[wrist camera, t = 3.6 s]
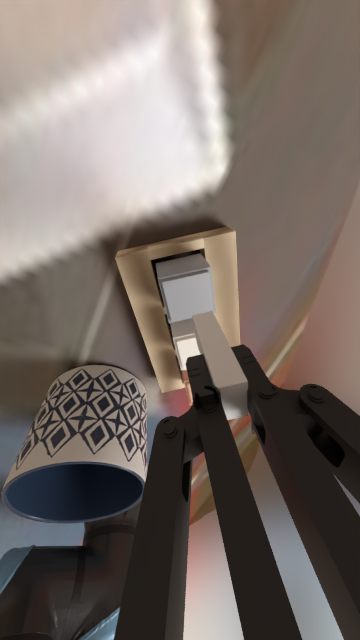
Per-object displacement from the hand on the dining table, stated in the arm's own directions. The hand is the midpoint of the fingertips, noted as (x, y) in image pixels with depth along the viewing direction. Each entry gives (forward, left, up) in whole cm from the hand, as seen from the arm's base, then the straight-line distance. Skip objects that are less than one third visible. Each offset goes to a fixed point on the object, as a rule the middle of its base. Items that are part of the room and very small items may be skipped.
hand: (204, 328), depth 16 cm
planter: (-18, -19, -14) cm, 30 cm away
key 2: (0, 0, -11) cm, 11 cm away
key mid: (0, -7, -11) cm, 13 cm away
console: (0, -7, -14) cm, 15 cm away
